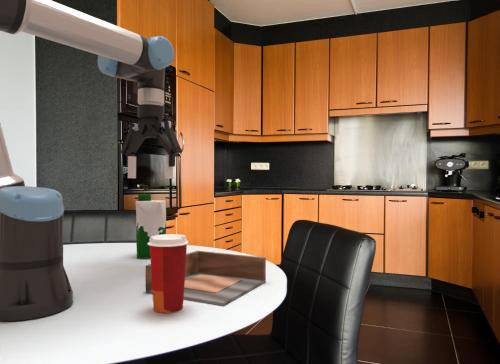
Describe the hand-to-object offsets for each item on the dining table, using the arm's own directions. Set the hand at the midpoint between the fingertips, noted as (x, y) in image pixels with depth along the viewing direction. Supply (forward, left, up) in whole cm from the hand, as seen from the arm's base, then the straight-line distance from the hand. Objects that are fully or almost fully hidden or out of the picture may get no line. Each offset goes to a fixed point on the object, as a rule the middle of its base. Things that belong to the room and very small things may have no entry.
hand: (150, 178), depth 115 cm
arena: (-13, -28, -25) cm, 40 cm away
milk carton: (+9, +8, -25) cm, 28 cm away
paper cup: (-29, -29, -25) cm, 48 cm away
